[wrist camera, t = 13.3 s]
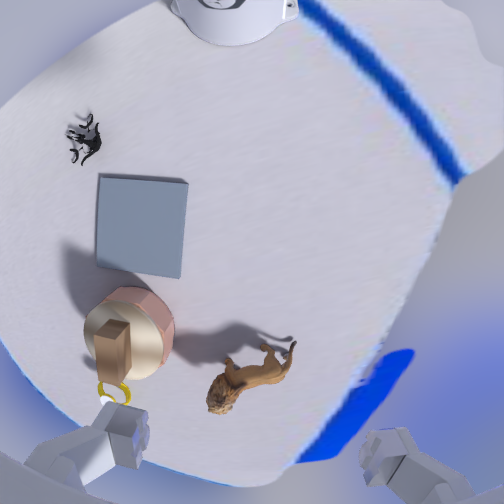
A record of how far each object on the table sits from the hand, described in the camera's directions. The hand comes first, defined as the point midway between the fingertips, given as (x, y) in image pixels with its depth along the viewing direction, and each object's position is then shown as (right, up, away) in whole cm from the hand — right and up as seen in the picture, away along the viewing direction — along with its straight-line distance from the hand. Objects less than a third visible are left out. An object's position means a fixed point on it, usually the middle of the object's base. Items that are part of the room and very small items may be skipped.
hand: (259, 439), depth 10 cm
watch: (-23, -16, +39) cm, 48 cm away
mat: (-16, +10, +33) cm, 38 cm away
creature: (-25, +23, +31) cm, 46 cm away
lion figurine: (0, -10, +37) cm, 39 cm away
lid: (-18, -5, +30) cm, 36 cm away
